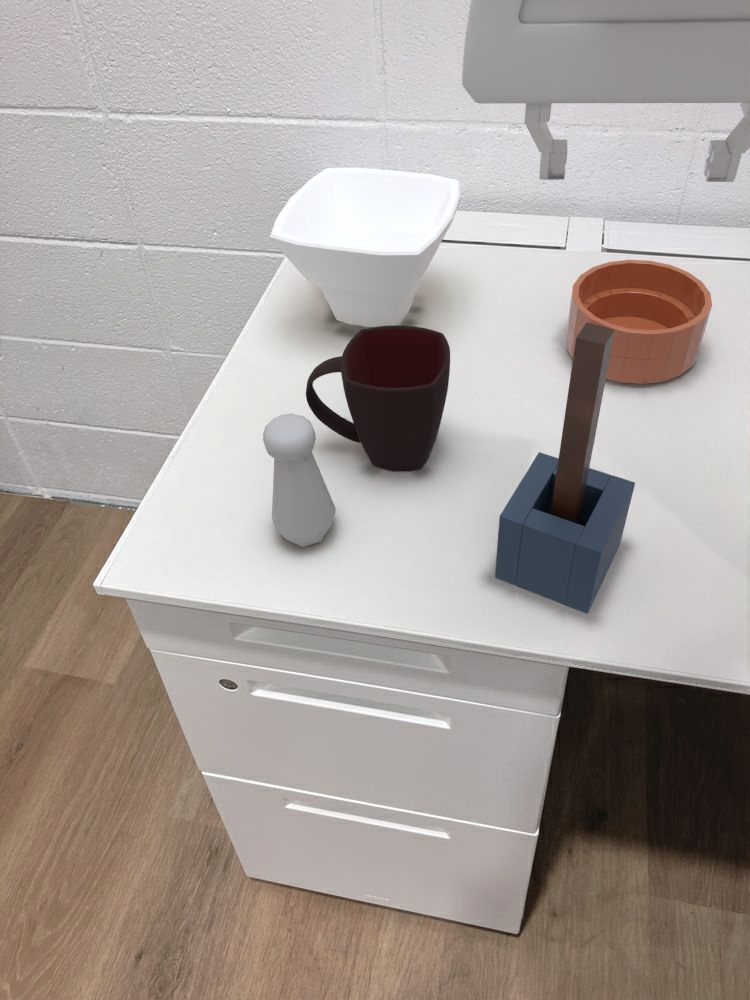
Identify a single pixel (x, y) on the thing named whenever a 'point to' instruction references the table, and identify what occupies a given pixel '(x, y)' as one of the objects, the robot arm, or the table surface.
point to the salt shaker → (297, 481)
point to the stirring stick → (581, 419)
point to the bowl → (366, 237)
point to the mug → (389, 393)
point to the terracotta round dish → (642, 317)
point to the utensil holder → (561, 536)
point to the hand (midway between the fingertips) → (633, 176)
